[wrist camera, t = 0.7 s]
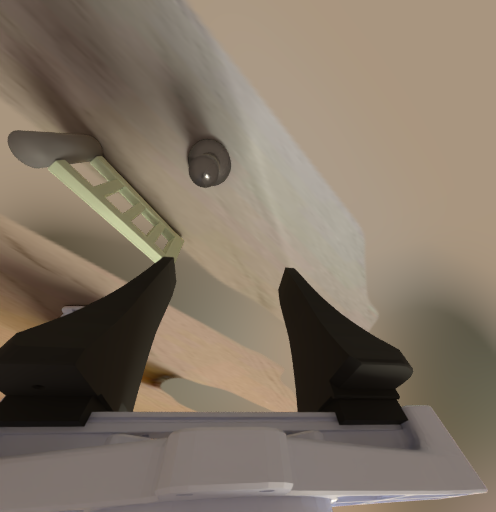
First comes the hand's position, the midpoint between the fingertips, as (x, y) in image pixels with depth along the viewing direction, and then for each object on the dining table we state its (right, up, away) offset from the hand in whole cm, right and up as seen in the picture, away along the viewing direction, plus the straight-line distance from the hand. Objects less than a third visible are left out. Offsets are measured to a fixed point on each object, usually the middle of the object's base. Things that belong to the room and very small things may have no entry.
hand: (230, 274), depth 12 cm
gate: (-10, +7, +7) cm, 14 cm away
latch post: (-3, +10, +6) cm, 12 cm away
